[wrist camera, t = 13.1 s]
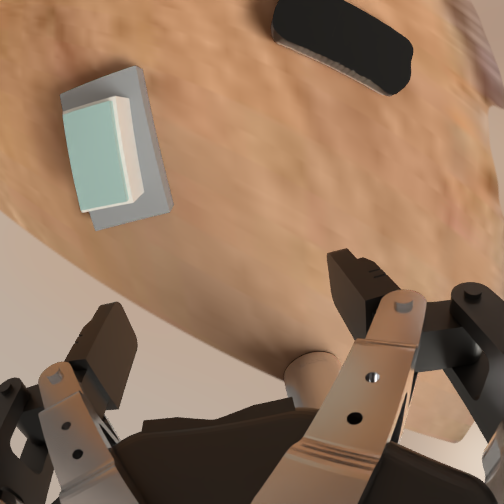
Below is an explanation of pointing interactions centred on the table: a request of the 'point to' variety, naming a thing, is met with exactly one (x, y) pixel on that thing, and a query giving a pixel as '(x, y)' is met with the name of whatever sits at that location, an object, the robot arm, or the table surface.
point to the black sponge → (345, 42)
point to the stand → (146, 141)
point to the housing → (103, 153)
